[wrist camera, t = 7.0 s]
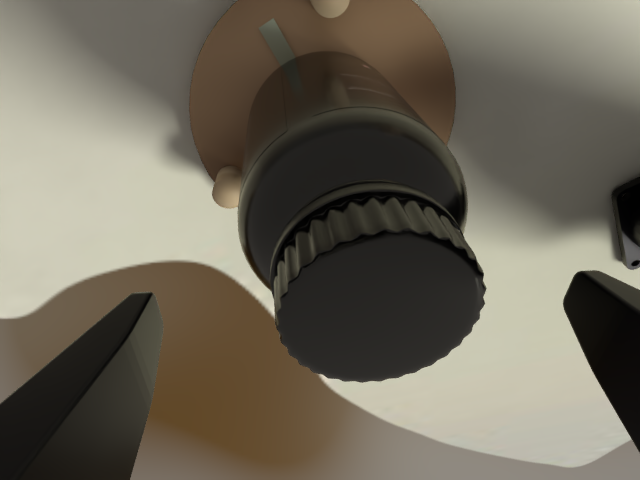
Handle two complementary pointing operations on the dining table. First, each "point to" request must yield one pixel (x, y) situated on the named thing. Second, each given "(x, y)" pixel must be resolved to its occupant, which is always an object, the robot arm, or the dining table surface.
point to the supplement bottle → (355, 222)
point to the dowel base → (302, 38)
